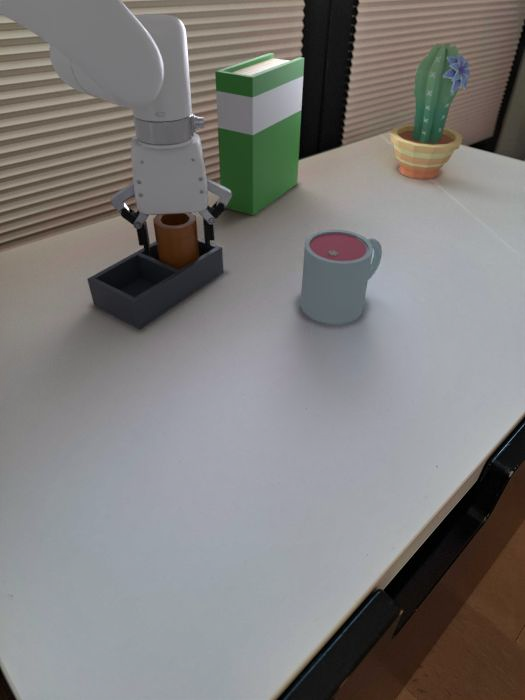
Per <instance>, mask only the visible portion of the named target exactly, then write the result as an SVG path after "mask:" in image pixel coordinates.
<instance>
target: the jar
mask: <svg viewBox="0 0 525 700" xmlns="http://www.w3.org/2000/svg"><path fill="white" fill-rule="evenodd" d="M152 220H153V229H154V237H155V241H156V244H157V251H158V258H159V261H161V262H163V263H165V264H168V265H170V266H172V267H174V268H177V269H179V270H180V269H182V268H183V267H185V266H187V265H188V264H190V263H191V262H193V261H195V260H196V259H198V258H199V247H198V238H199V236H198V235H199V234H198V226H197V215H195V214H194V212H193V213H179V214H163V215H154V217H153V219H152Z"/></svg>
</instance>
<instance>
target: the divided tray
mask: <svg viewBox="0 0 525 700" xmlns="http://www.w3.org/2000/svg"><path fill="white" fill-rule="evenodd" d="M198 247H199V258H198V259H196V260H195V261H193V262H191V263H190V264H188V265H187V266H185V267H183V268H182V269H180V270H179V269H177V268H174V267H172V266H170V265H168V264H165V263H163V262H161V261H159V258H158V251H157V244H156V240H155V241H153V242H152V243H150V252H148V253H145V252H144V247H143V248H140V249H139V250H136V251H135V252H133V253H132V254H129V255H128V256H125V257H124V258H123V259H120V260H119V261H117V262H115V263H112V264H111V265H109V266H108V267H106V268H104V269H102V270H100V271H98V272H97V273H95V274H93V275H91V276H89V277H88V278H87V279H86V280H87V283H88V284H87V285H88V287H89V291H90V295H91V299H92V302H93V306H94V307H96V308H97V309H99V310H101V311H103V312H105V313H107V314H108V315H111V316H112V317H114V318H116V319H118V320H120V321H122V322H123V323H126V324H128V325H129V326H131V327H133V328H135V329H137V330H139V331H141V330H142V329H144V328H145V327H146V326H149V325H150V324H151V323H153V322H154V321H155V320H157V319H158V318H160V317H162V315H164V314H165V313H167V312H168V311H170V310H171V309H173V308H174V307H176V306H178V305H179V304H180V303H182V302H183V301H185V300H186V299H188V298H189V297H190V296H192V295H194V294H195V293H197V292H198V291H199V290H201V289H203V288H204V287H205V286H206V285H208V284H210V283H211V282H212V281H214V280H215V279H217V278H219V277H220V276H221V275H223V274H224V255H223V253H224V251H223V246H221V245H218V244H216V243H213V242H210V247H211V249H207V248H206V246H205V239H203V238H200V237H198Z"/></svg>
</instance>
